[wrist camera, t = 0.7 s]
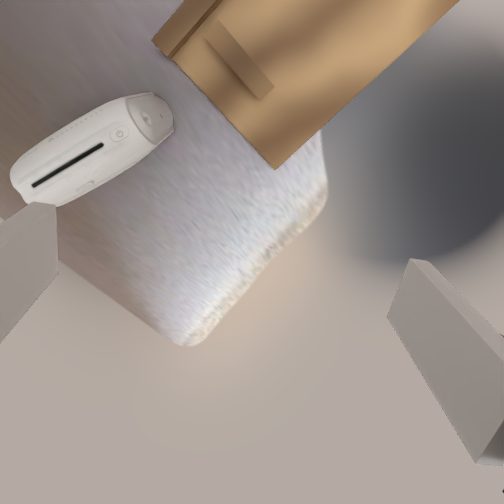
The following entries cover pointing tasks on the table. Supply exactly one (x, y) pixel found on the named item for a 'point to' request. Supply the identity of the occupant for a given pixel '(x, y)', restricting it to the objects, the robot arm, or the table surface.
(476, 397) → the robot arm
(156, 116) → the photo printer
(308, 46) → the ledge shelf
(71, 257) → the table surface
